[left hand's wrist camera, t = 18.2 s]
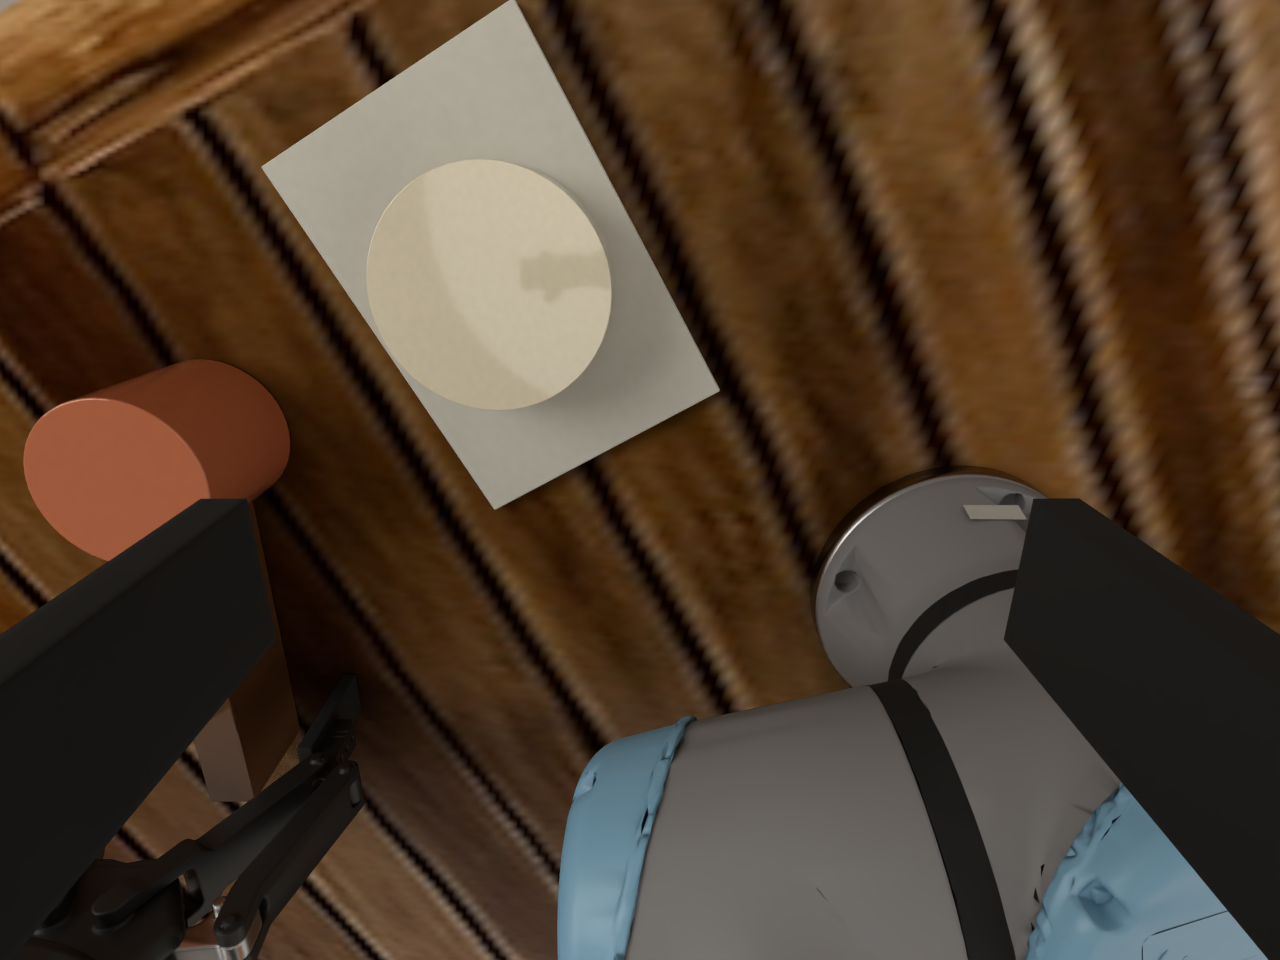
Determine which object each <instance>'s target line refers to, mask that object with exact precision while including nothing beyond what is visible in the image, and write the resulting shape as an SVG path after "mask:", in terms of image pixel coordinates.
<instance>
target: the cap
mask: <svg viewBox="0 0 1280 960" xmlns="http://www.w3.org/2000/svg"><path fill="white" fill-rule="evenodd" d="M366 280H367V293H368V298H369V304H370V308H371V311H372V315H373V318H374V321H375V324H376V326H377V328H378V330H379V333H380V335H381V337H382V339H383V341H384V342H385V344H386V346H387V347H388V349H389V351H390V352H391V353H392V355H393V356H394V357H395V359H396V360H397V361H398V362H399V364H400V365H401V366H402V367H403V368H404V369H405V370H406V371H407V372H408V373H409V374H410V375H411V376H412V377H413V378H414V379H416V380H417V381H418V382H419V383H421V384H422V385H423V386H424V387H426V388H428V389H429V390H431V391H432V392H434V393H435V394H437V395H439V396H441V397H443V398H445V399H447V400H450V401H452V402H455V403H458V404H461V405H464V406H467V407H472V408H477V409H482V410H494V411H500V410H514V409H520V408H525V407H529V406H532V405H535V404H538V403H541V402H543V401H545V400H547V399H550V398H552V397H554V396H555V395H557V394H558V393H560V392H562V391H563V390H565V389H566V388H567V387H568V386H570V385H571V384H572V383H573V382H574V381H576V380H577V379H578V378H579V377H580V375H581V374H582V373H583V372H584V371H585V370H586V369H587V368H588V366H589V365H590V363H591V362H592V360H593V359H594V357H595V356H596V354H597V352H598V350H599V348H600V346H601V344H602V342H603V339H604V336H605V333H606V330H607V328H608V324H609V320H610V316H611V311H612V306H613V301H614V287H615V285H614V270H613V265H612V259H611V255H610V252H609V249H608V245H607V242H606V240H605V238H604V235H603V233H602V231H601V229H600V227H599V225H598V224H597V222H596V220H595V219H594V217H593V216H592V214H591V213H590V211H589V210H588V209H587V208H586V207H585V205H584V204H583V203H582V202H581V201H580V200H579V199H578V198H577V197H576V196H575V195H574V194H573V193H572V192H571V191H570V190H569V189H567V188H566V187H564V186H563V185H562V184H560V183H559V182H558V181H556V180H554V179H553V178H551V177H549V176H547V175H545V174H543V173H541V172H538V171H536V170H533V169H531V168H528V167H525V166H521V165H518V164H514V163H510V162H505V161H501V160H493V159H465V160H460V161H455V162H450V163H447V164H444V165H441V166H438V167H436V168H433V169H431V170H429V171H427V172H426V173H424V174H422V175H420V176H418V177H417V178H416V179H414V180H413V181H412V182H410V183H409V184H408V185H406V186H405V187H404V188H403V189H402V190H401V191H400V192H399V193H398V194H397V195H396V196H395V197H394V198H393V200H392V201H391V202H390V204H389V205H388V207H387V208H386V209H385V211H384V212H383V214H382V216H381V218H380V220H379V222H378V224H377V226H376V228H375V231H374V234H373V237H372V239H371V243H370V248H369V252H368V257H367V269H366Z"/></svg>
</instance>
